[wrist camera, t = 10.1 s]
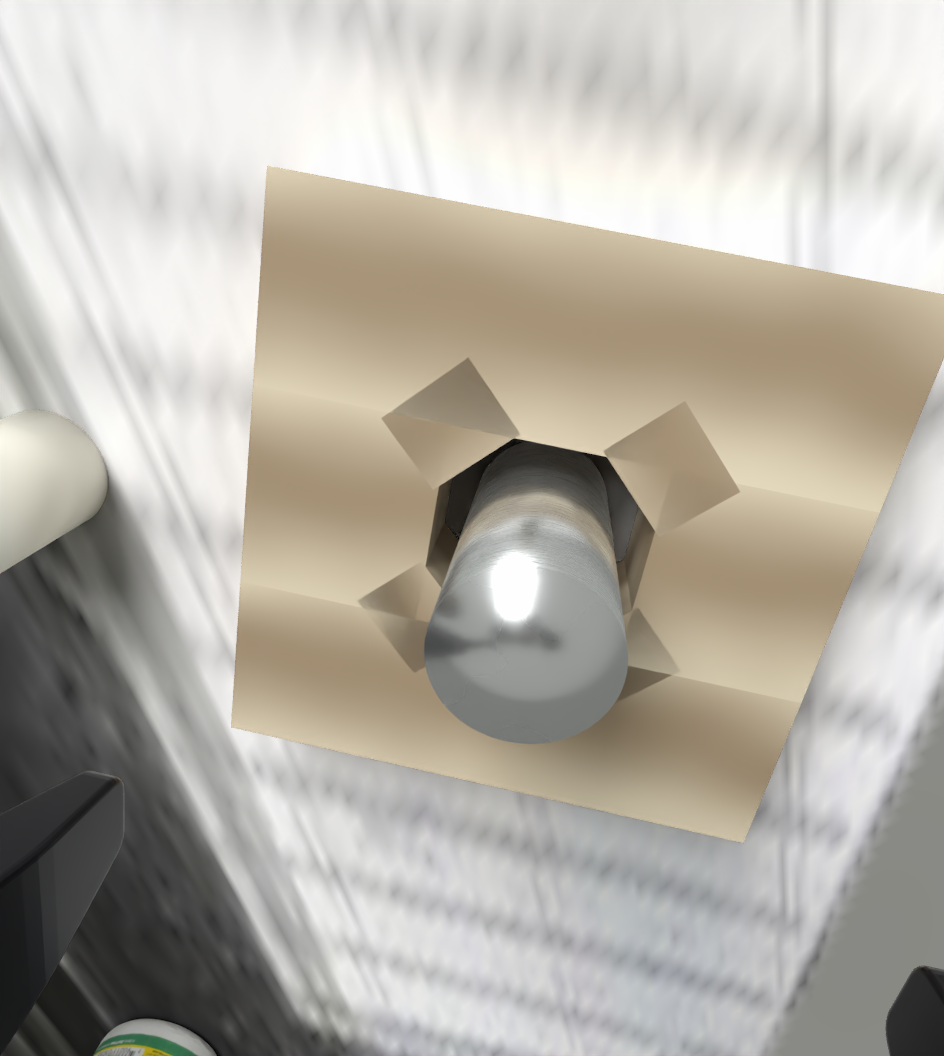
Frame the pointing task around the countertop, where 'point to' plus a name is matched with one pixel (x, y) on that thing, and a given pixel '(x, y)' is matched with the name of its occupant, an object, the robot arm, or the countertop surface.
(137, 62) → the countertop surface
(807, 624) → the hole board
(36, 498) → the short cream pin
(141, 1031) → the supplement bottle
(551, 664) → the tall steel pin
